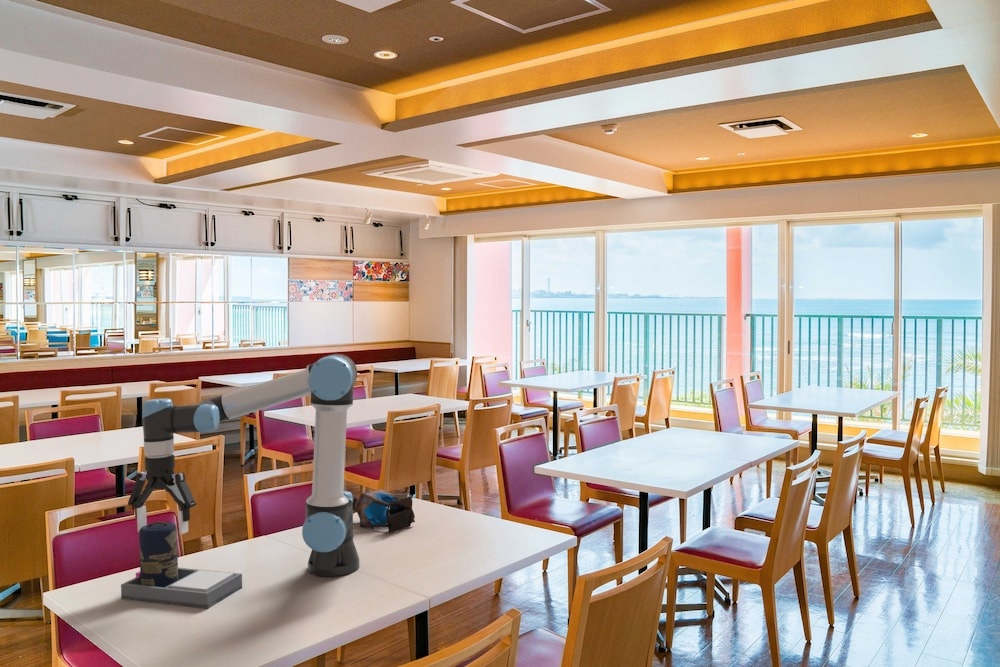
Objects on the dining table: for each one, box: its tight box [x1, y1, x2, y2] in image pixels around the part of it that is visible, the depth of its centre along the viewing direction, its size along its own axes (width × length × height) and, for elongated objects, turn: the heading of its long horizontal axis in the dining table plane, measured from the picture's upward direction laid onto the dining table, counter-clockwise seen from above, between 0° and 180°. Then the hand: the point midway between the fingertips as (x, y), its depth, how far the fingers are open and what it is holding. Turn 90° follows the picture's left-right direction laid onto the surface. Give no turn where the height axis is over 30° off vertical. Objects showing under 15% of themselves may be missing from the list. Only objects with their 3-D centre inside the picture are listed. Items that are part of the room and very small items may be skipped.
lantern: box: [352, 488, 416, 534], centre depth 266 cm, size 16×16×25 cm
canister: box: [138, 521, 179, 587], centre depth 204 cm, size 10×10×18 cm
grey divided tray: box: [120, 567, 243, 610], centre depth 203 cm, size 27×15×5 cm, turn 75°
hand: (163, 531), depth 204 cm, fingers open, 13 cm apart
